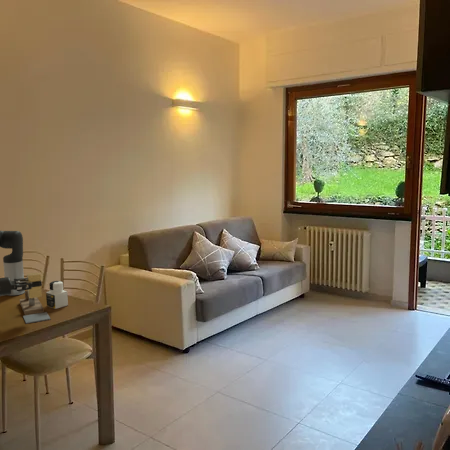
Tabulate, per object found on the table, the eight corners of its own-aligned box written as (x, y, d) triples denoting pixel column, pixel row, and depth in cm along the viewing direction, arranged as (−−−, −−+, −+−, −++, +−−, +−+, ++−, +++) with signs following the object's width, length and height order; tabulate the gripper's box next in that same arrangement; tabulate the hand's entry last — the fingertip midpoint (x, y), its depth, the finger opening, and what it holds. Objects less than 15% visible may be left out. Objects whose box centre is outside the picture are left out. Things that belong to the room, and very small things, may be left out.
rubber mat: (23, 316, 208) (23, 315, 208) (46, 313, 213) (46, 312, 213) (26, 323, 199) (25, 322, 199) (50, 319, 204) (50, 318, 204)
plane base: (19, 303, 227) (18, 287, 226) (37, 300, 231) (36, 285, 230) (25, 315, 210) (23, 298, 209) (43, 312, 214) (42, 295, 213)
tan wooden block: (28, 295, 205) (26, 273, 204) (40, 293, 208) (38, 272, 206) (29, 298, 201) (28, 275, 200) (41, 296, 203) (40, 274, 202)
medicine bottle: (46, 306, 222) (45, 282, 221) (59, 302, 228) (58, 279, 226) (55, 309, 218) (53, 284, 216) (68, 305, 224) (66, 281, 222)
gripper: (-2, 282, 190) (42, 277, 198) (-4, 275, 202) (37, 270, 210) (-1, 300, 191) (43, 294, 199) (-3, 291, 203) (38, 286, 211)
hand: (40, 282), depth 205 cm, fingers closed on tan wooden block, 5 cm apart
